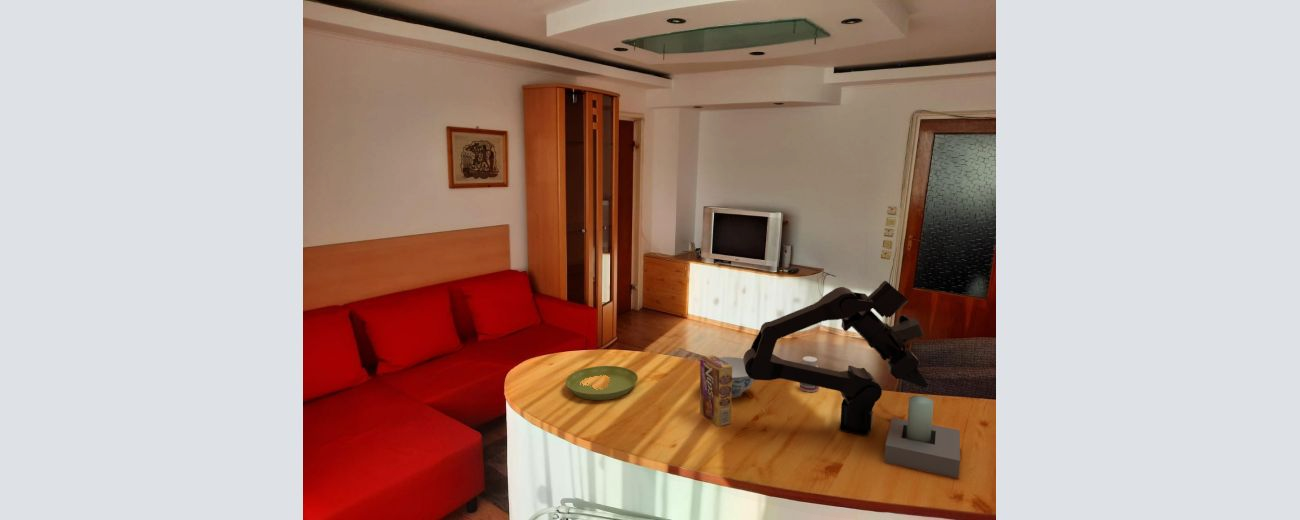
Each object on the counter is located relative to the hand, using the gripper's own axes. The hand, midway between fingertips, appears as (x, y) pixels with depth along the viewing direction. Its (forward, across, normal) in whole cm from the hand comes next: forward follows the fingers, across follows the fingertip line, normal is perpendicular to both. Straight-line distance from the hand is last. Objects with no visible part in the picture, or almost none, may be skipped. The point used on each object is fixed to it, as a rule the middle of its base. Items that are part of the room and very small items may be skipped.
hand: (921, 378), depth 131 cm
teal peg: (+8, -9, +11) cm, 16 cm away
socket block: (+9, -10, +11) cm, 17 cm away
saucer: (-48, +12, +67) cm, 83 cm away
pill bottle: (-7, +21, +26) cm, 34 cm away
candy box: (-24, -1, +43) cm, 50 cm away
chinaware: (-22, +15, +42) cm, 49 cm away
